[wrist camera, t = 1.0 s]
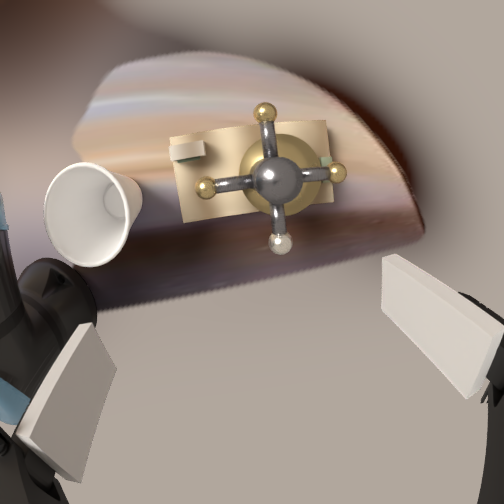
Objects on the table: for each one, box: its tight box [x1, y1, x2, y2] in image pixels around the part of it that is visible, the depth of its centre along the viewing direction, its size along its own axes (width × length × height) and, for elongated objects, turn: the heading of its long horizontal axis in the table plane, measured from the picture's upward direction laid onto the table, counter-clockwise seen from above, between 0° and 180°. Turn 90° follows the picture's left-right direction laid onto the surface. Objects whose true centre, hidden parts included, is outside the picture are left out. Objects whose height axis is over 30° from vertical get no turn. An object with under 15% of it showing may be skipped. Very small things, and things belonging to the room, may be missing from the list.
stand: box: [169, 120, 334, 223], centre depth 30 cm, size 18×10×5 cm, turn 97°
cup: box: [43, 162, 143, 267], centre depth 27 cm, size 10×10×11 cm
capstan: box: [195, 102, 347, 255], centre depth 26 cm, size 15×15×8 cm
